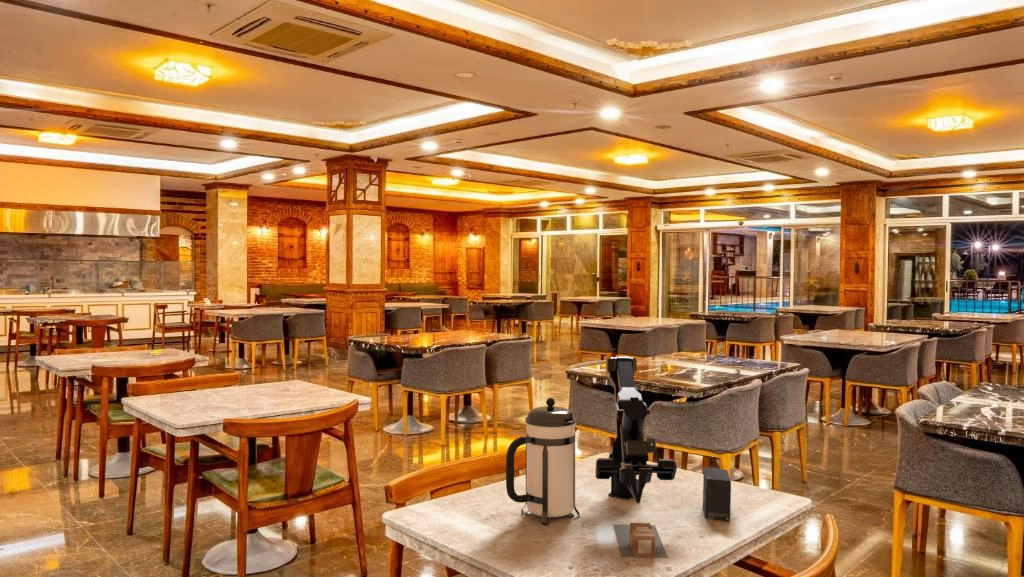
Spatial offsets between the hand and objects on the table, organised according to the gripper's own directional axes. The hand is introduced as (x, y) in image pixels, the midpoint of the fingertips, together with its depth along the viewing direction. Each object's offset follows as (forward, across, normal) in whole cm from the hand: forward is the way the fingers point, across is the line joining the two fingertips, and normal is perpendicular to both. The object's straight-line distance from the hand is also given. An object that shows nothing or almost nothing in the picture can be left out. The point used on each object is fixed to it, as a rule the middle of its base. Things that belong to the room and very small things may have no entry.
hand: (638, 502), depth 164 cm
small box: (-6, +22, +19) cm, 30 cm away
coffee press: (-3, -21, +16) cm, 26 cm away
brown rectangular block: (+6, 0, +2) cm, 7 cm away
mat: (+7, 0, +5) cm, 9 cm away
